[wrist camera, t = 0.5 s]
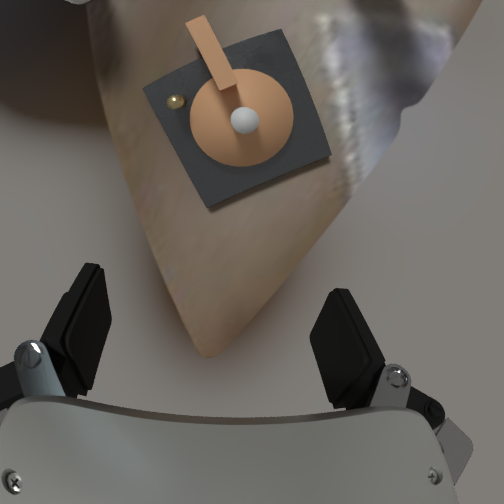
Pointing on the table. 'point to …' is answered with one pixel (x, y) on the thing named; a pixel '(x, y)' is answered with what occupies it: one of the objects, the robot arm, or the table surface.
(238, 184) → the base plate
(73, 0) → the drinking glass
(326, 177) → the table surface
